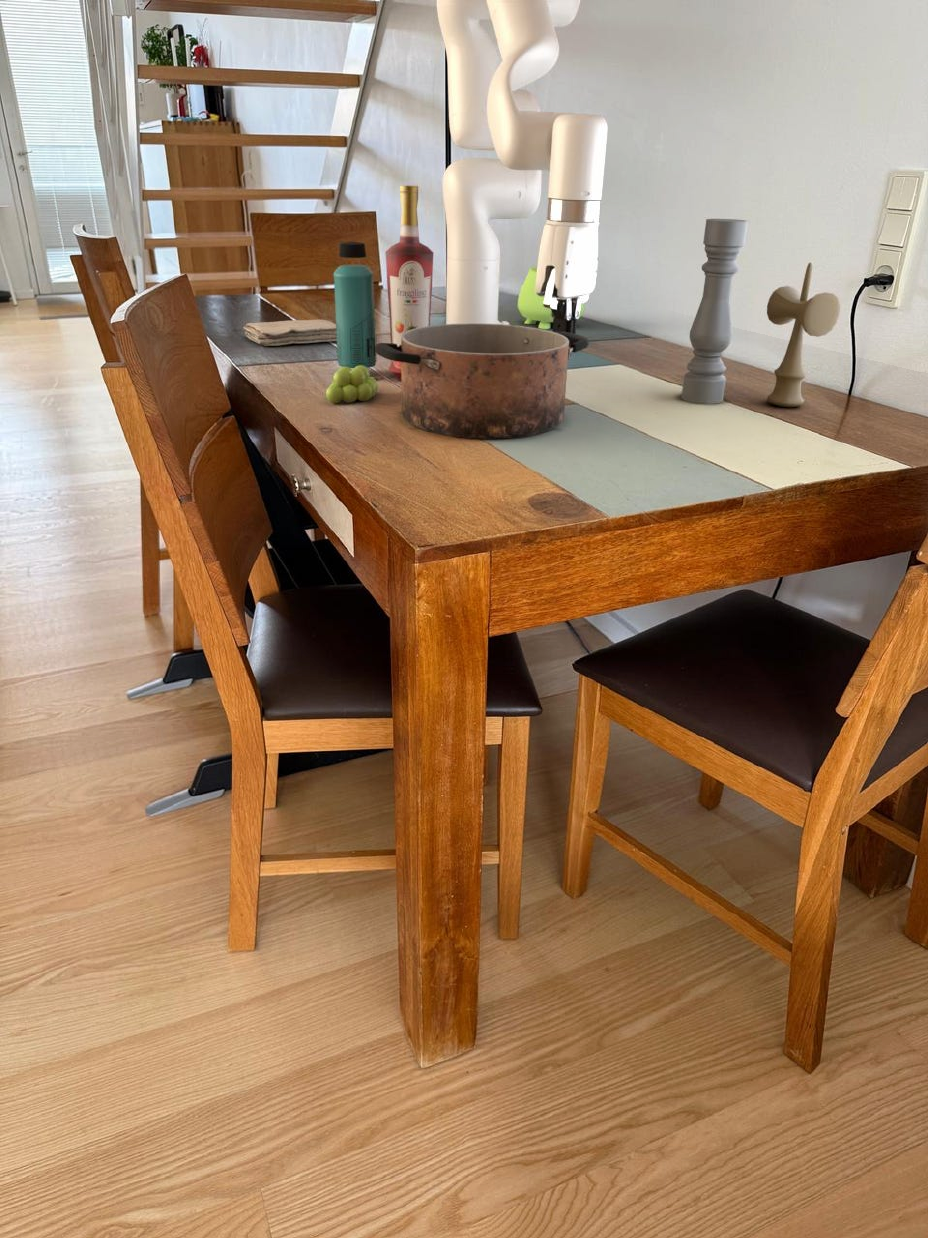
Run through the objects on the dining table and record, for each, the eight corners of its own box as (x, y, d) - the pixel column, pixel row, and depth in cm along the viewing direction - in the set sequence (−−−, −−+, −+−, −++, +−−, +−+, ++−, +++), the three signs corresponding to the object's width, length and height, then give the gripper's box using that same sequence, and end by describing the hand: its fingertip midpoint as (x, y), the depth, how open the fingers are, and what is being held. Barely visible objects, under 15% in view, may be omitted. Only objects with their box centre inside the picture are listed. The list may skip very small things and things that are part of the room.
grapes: (367, 386, 142) (366, 357, 140) (401, 394, 138) (401, 363, 136) (311, 400, 133) (310, 369, 131) (346, 408, 130) (345, 376, 128)
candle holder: (724, 396, 141) (751, 219, 130) (720, 405, 136) (748, 222, 125) (683, 392, 143) (706, 217, 132) (678, 401, 138) (702, 220, 126)
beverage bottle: (370, 379, 146) (367, 244, 137) (331, 376, 148) (325, 242, 138) (382, 370, 152) (379, 240, 143) (343, 368, 153) (338, 239, 144)
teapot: (602, 330, 191) (607, 266, 185) (545, 334, 186) (550, 268, 180) (553, 315, 207) (557, 256, 201) (500, 318, 202) (503, 257, 196)
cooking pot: (536, 390, 142) (540, 318, 137) (618, 426, 124) (626, 345, 119) (352, 408, 130) (349, 329, 125) (414, 450, 112) (414, 361, 107)
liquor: (389, 382, 145) (386, 186, 132) (385, 372, 151) (382, 184, 138) (435, 381, 146) (436, 187, 133) (429, 371, 152) (430, 185, 139)
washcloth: (241, 337, 176) (239, 320, 175) (329, 330, 184) (328, 314, 182) (260, 348, 167) (259, 330, 165) (352, 341, 175) (351, 324, 173)
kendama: (788, 414, 132) (815, 266, 123) (748, 398, 140) (771, 258, 131) (822, 411, 134) (851, 265, 125) (780, 396, 142) (805, 258, 133)
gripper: (578, 209, 137) (568, 335, 146) (521, 213, 127) (514, 348, 136) (622, 212, 133) (609, 342, 142) (567, 217, 123) (557, 356, 132)
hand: (563, 345), depth 139 cm, fingers closed
